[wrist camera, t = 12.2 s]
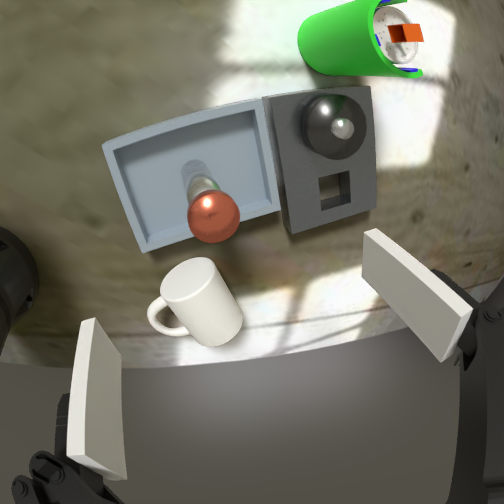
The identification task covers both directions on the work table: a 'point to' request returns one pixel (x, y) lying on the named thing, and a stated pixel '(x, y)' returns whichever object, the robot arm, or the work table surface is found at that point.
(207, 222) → the pin
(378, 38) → the green-shelled ribbed roller
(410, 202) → the work table surface
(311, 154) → the grey block with dome
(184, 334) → the mug
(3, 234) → the robot arm
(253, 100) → the tray
